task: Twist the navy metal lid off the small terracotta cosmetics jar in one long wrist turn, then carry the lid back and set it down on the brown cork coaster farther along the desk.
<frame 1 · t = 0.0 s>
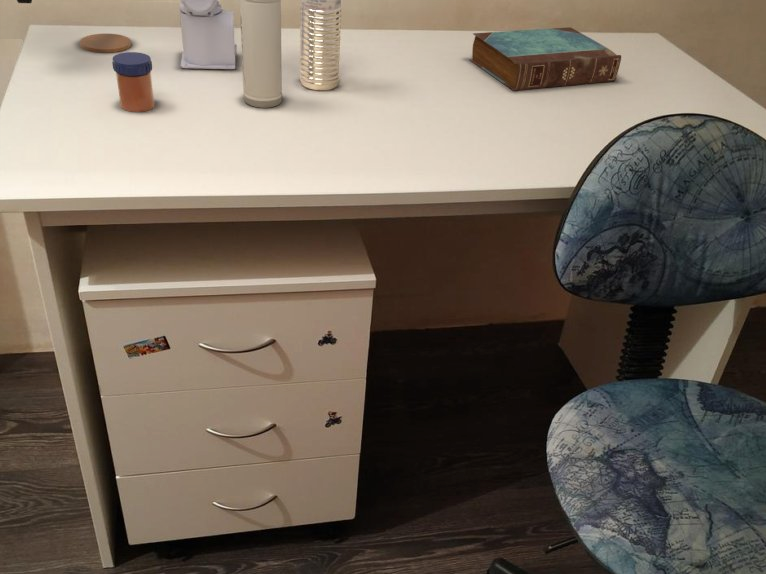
travel mug: (263, 101, 134), on the table
jar: (137, 105, 128), on the table
book: (540, 71, 156), on the table
lid: (131, 60, 124), point 7 cm above the table, screwed on, not yet turned
coaster: (106, 44, 149), on the table
water bottle: (319, 85, 142), on the table
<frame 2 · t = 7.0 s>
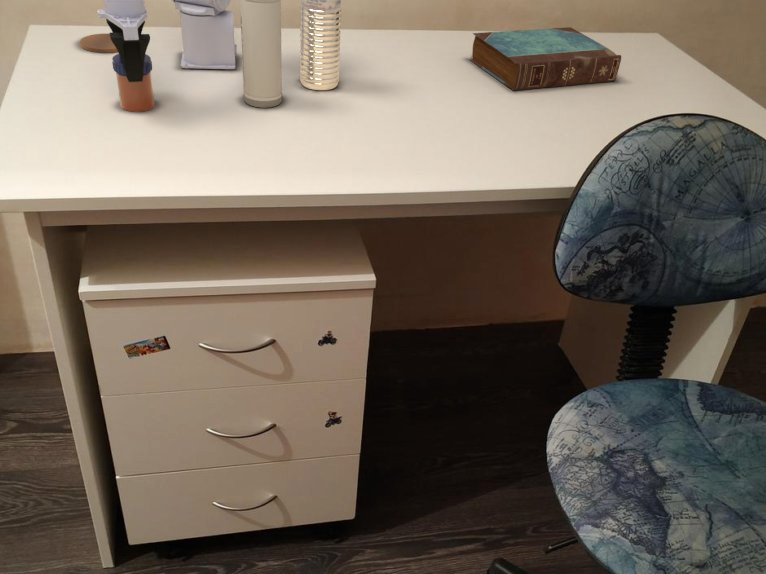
hand: (133, 73, 125), 5 cm above the table, tool pointing down, fingers closed on lid, 5 cm apart
lid: (131, 60, 124), point 7 cm above the table, screwed on, not yet turned, touching gripper
everything else where it was.
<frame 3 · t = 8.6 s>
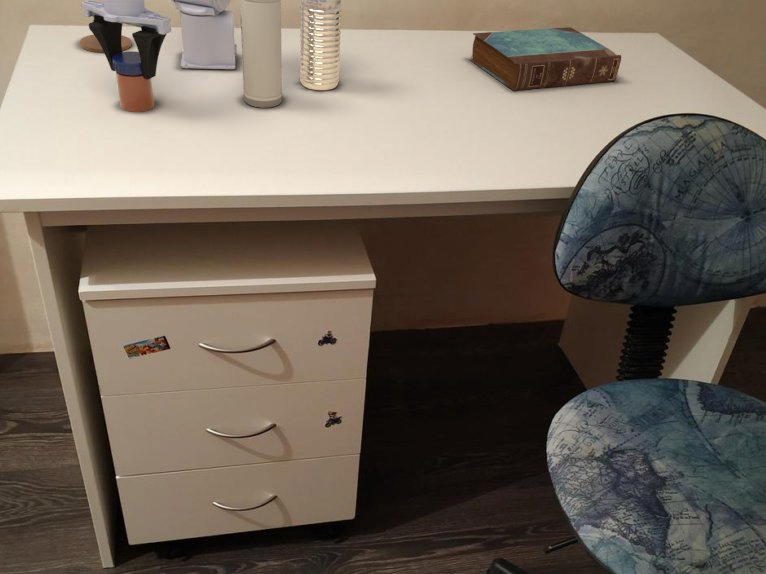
hand: (133, 73, 125), 5 cm above the table, tool pointing down, fingers closed on lid, 5 cm apart
lid: (131, 60, 124), point 7 cm above the table, turned 47° so far, risen 0.1 cm, still on its thread, touching gripper
everything else where it was.
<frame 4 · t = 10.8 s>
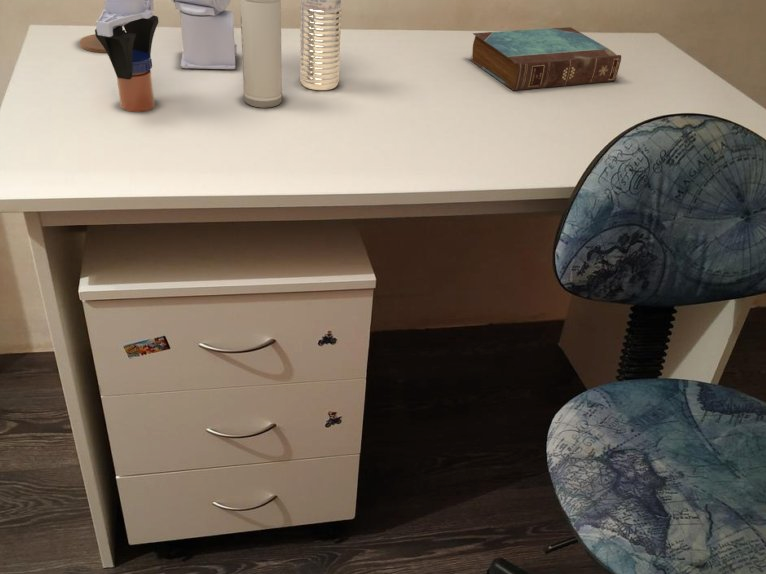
hand: (133, 71, 125), 5 cm above the table, tool pointing down, fingers closed on lid, 5 cm apart
lid: (131, 58, 124), point 7 cm above the table, off its thread, touching gripper
everything else where it was.
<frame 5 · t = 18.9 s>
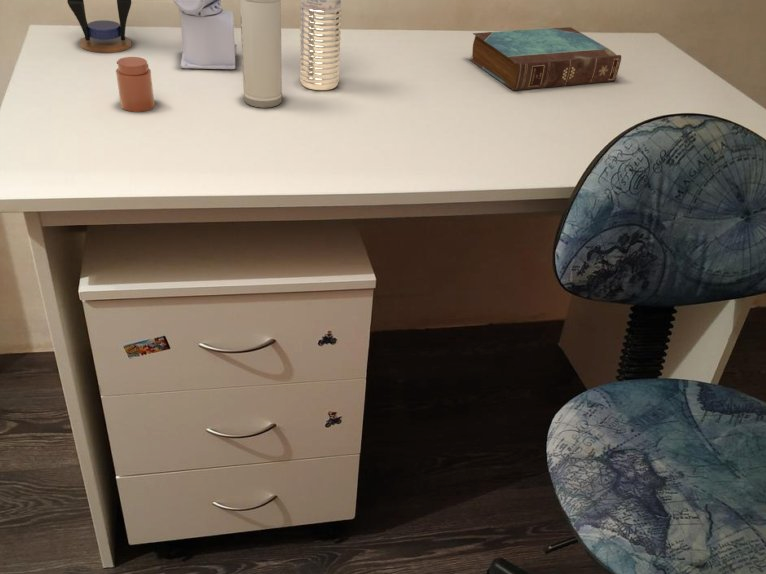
hand: (105, 38, 148), 1 cm above the table, tool pointing down, fingers closed on lid, 5 cm apart
lid: (103, 27, 147), point 3 cm above the table, off its thread, touching gripper
everything else where it was.
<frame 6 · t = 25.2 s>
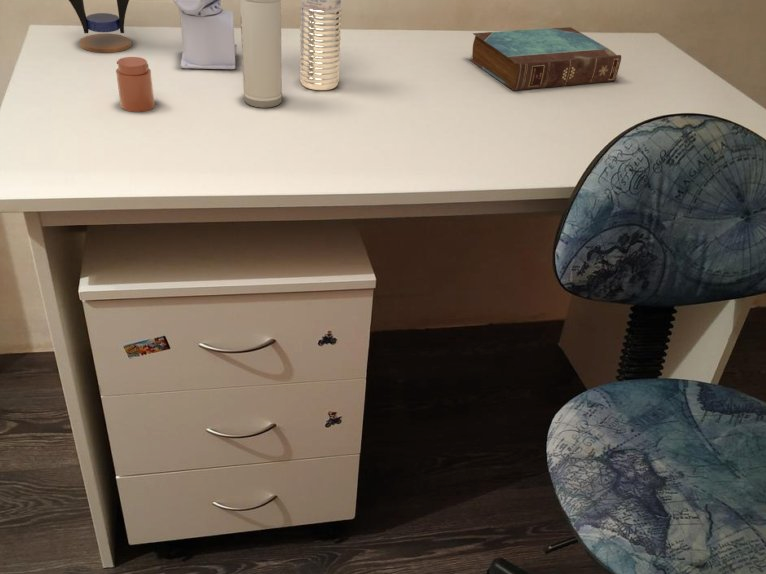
hand: (104, 31, 147), 2 cm above the table, tool pointing down, fingers closed on lid, 5 cm apart
lid: (102, 20, 146), point 4 cm above the table, off its thread, touching gripper
everything else where it was.
when the fingers open (3 cm above the table, at t = 31.2 s): lid drops 3 cm, resting on coaster.
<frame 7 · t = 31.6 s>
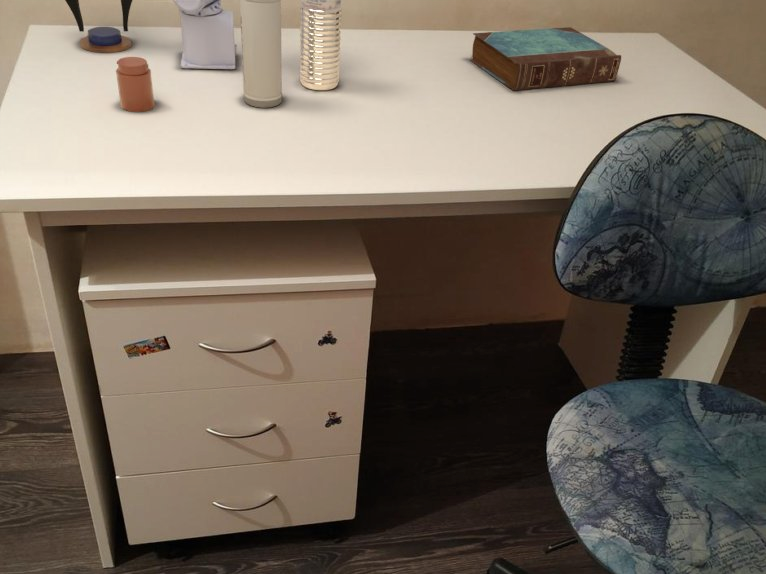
hand: (103, 29, 147), 3 cm above the table, tool pointing down, fingers open, 7 cm apart
lid: (104, 33, 147), point 2 cm above the table, off its thread, touching coaster
everything else where it was.
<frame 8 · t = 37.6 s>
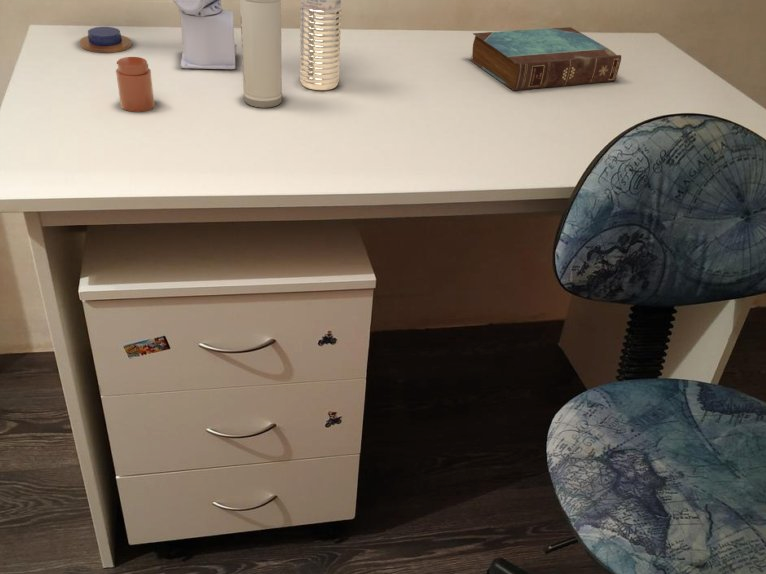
nothing on the table moved.
at the end: lid came off its thread; lid 0.1 cm off-centre on the coaster, point 1.9 cm above the coaster's base; the gripper is holding nothing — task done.
